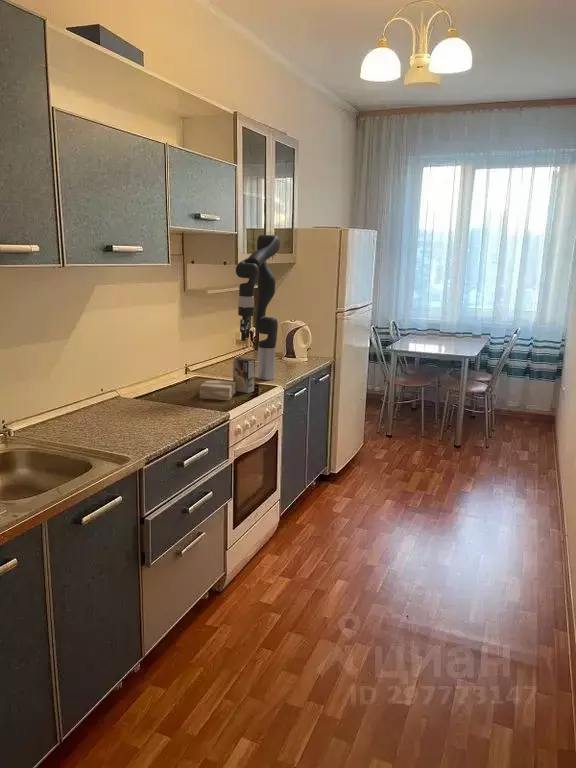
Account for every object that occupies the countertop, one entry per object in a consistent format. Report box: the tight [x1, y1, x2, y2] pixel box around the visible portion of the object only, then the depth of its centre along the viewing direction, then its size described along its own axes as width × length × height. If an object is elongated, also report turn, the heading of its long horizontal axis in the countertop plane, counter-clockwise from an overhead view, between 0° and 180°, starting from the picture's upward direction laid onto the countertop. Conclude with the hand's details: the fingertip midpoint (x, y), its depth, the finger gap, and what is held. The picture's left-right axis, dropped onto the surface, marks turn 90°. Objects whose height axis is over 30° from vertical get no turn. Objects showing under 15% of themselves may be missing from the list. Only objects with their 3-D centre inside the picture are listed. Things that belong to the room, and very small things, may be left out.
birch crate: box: [199, 379, 237, 401], centre depth 268 cm, size 14×14×6 cm
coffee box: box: [232, 356, 256, 394], centre depth 278 cm, size 9×6×16 cm
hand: (245, 339), depth 273 cm, fingers open, 8 cm apart
